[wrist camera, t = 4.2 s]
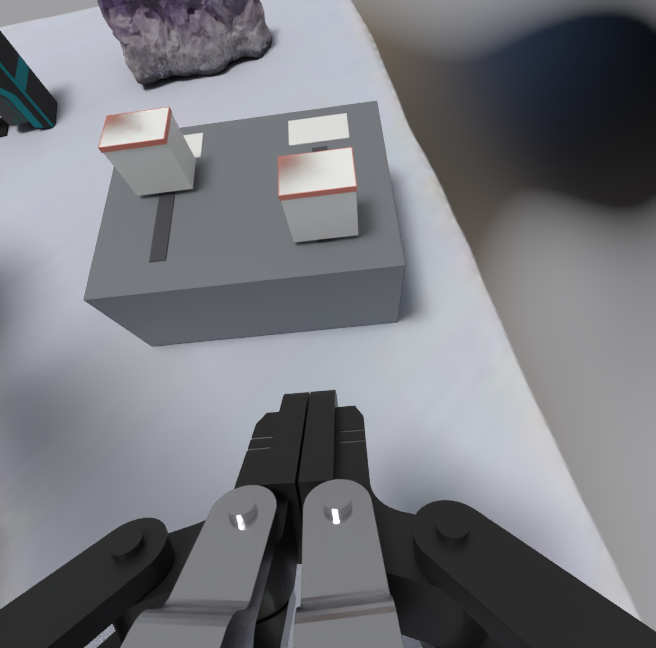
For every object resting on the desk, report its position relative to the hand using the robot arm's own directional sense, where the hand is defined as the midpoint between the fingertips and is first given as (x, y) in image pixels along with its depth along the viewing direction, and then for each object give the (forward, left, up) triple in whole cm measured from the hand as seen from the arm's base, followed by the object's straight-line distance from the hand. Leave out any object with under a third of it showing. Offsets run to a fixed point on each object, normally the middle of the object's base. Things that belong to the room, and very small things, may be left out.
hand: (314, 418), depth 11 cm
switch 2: (-10, +12, -10) cm, 18 cm away
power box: (-17, +11, -19) cm, 28 cm away
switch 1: (-23, +9, -10) cm, 26 cm away
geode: (-47, +31, -20) cm, 59 cm away
